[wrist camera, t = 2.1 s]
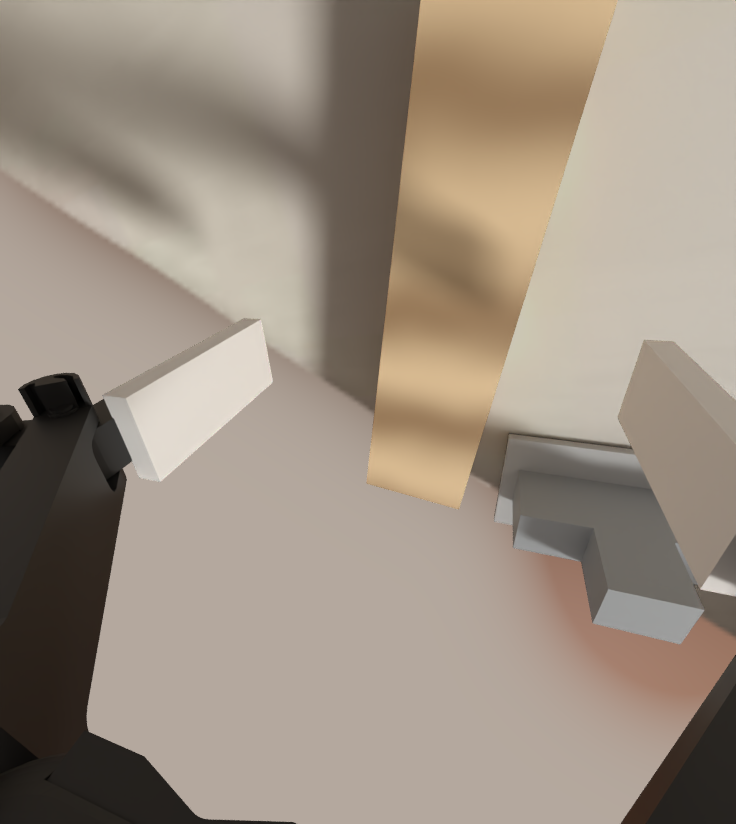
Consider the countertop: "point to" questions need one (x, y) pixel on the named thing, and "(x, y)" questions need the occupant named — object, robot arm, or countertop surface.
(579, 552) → the bracket
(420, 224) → the beam
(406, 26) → the countertop surface
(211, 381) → the robot arm
